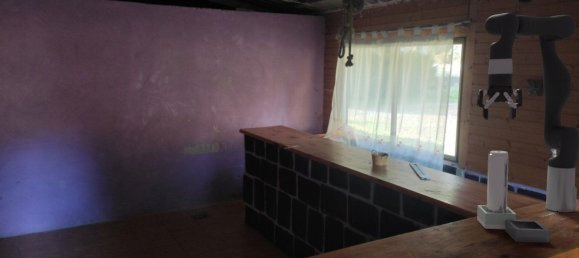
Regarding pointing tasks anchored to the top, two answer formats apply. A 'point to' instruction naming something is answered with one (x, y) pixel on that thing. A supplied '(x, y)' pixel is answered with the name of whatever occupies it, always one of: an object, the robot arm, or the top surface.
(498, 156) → the air filter
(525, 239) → the socket
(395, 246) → the top surface
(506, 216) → the white open box
